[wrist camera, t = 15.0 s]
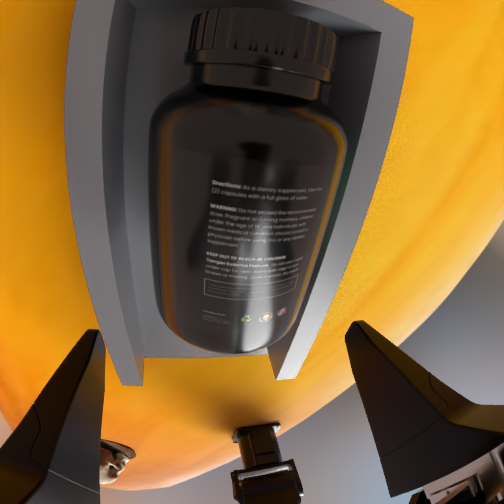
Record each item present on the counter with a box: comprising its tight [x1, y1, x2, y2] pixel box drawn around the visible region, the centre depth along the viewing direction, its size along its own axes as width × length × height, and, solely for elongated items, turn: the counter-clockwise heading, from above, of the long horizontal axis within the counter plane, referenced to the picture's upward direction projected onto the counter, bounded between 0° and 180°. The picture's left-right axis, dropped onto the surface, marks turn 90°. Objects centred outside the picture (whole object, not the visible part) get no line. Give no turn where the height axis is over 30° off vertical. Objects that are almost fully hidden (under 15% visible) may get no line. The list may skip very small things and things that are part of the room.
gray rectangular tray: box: [64, 0, 414, 386], centre depth 14 cm, size 25×13×4 cm, turn 170°
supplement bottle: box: [148, 7, 348, 354], centre depth 10 cm, size 7×7×12 cm
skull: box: [100, 439, 136, 484], centre depth 35 cm, size 12×10×10 cm
